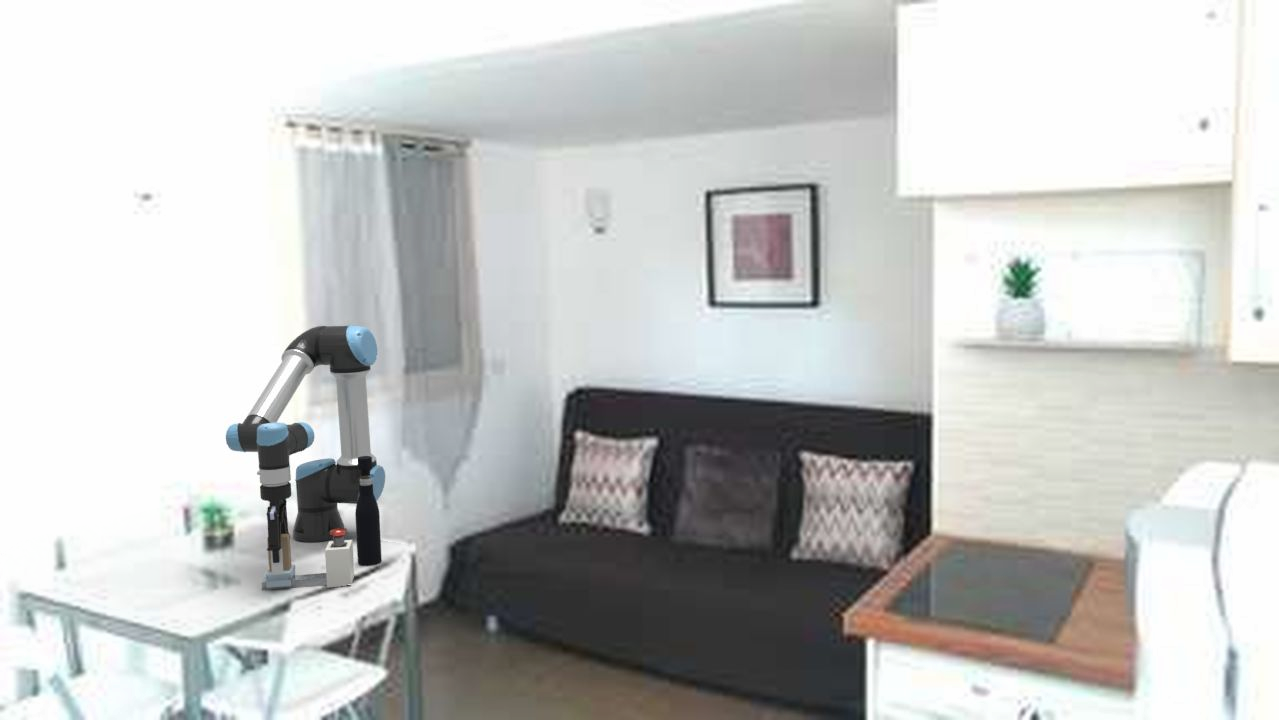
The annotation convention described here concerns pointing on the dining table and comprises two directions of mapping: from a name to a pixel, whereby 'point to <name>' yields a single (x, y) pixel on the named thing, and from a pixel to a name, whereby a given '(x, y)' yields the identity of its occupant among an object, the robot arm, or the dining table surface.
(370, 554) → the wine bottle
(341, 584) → the white button housing
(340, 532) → the red mushroom push button
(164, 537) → the dining table surface
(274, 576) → the carriage
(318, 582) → the rail
